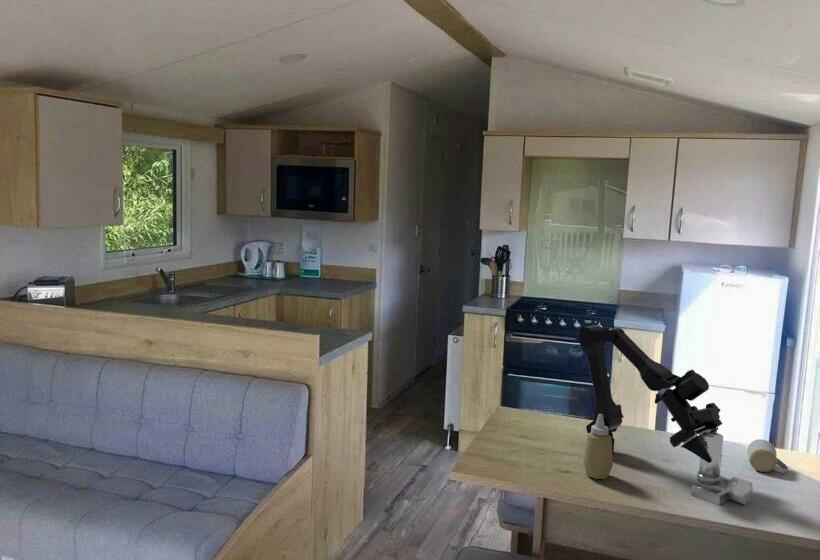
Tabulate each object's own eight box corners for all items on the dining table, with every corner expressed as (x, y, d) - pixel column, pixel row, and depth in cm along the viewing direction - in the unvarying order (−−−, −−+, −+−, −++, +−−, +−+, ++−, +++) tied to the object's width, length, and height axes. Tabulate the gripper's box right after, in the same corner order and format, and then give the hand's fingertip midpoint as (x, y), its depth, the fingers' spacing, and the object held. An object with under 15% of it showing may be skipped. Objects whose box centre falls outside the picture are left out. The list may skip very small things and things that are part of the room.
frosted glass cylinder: (701, 485, 181) (705, 438, 179) (693, 476, 186) (697, 430, 185) (723, 486, 180) (728, 439, 178) (715, 477, 186) (719, 431, 184)
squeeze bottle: (596, 484, 186) (599, 421, 184) (576, 473, 193) (579, 412, 191) (618, 479, 190) (622, 417, 187) (597, 468, 197) (601, 408, 194)
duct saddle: (690, 494, 180) (692, 473, 180) (714, 482, 189) (716, 462, 188) (734, 511, 172) (736, 488, 171) (757, 497, 180) (759, 476, 179)
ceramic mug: (748, 471, 197) (750, 445, 196) (746, 461, 205) (748, 436, 204) (789, 478, 193) (792, 452, 192) (785, 467, 201) (788, 443, 200)
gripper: (683, 400, 177) (721, 453, 170) (718, 388, 189) (755, 438, 182) (654, 421, 184) (689, 473, 177) (689, 408, 196) (723, 456, 189)
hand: (715, 459), depth 181 cm, fingers closed on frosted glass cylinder, 5 cm apart
